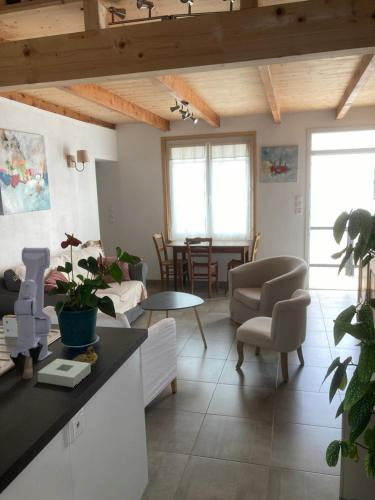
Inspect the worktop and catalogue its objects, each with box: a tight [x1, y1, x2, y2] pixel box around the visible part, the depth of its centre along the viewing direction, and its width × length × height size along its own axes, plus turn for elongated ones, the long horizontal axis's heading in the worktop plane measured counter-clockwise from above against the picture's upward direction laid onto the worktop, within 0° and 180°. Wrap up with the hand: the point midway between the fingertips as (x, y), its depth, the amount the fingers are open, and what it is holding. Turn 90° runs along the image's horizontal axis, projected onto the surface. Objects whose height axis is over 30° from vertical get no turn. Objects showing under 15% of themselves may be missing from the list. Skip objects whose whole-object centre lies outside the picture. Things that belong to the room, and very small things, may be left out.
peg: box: [22, 357, 34, 380], centre depth 143 cm, size 3×3×7 cm
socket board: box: [37, 358, 92, 388], centre depth 144 cm, size 14×12×4 cm
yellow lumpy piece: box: [71, 345, 99, 367], centre depth 157 cm, size 9×5×15 cm
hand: (27, 368), depth 143 cm, fingers open, 7 cm apart
